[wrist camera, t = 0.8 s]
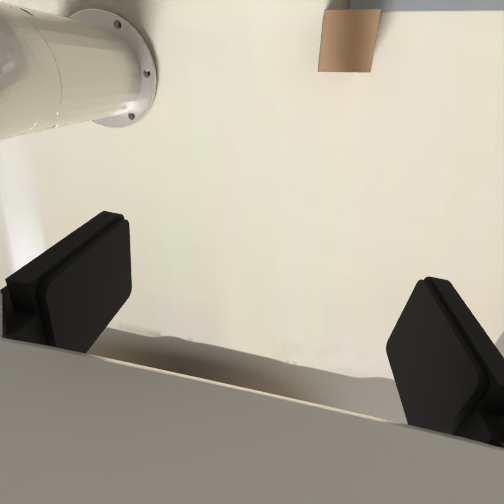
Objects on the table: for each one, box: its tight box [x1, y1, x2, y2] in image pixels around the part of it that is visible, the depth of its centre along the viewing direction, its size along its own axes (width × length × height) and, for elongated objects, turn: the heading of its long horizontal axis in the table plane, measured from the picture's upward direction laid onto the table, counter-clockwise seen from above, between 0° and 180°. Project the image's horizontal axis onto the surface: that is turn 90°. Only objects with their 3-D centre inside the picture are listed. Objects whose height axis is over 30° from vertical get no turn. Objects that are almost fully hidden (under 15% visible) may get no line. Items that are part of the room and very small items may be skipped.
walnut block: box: [318, 9, 381, 72], centre depth 33 cm, size 5×5×5 cm
